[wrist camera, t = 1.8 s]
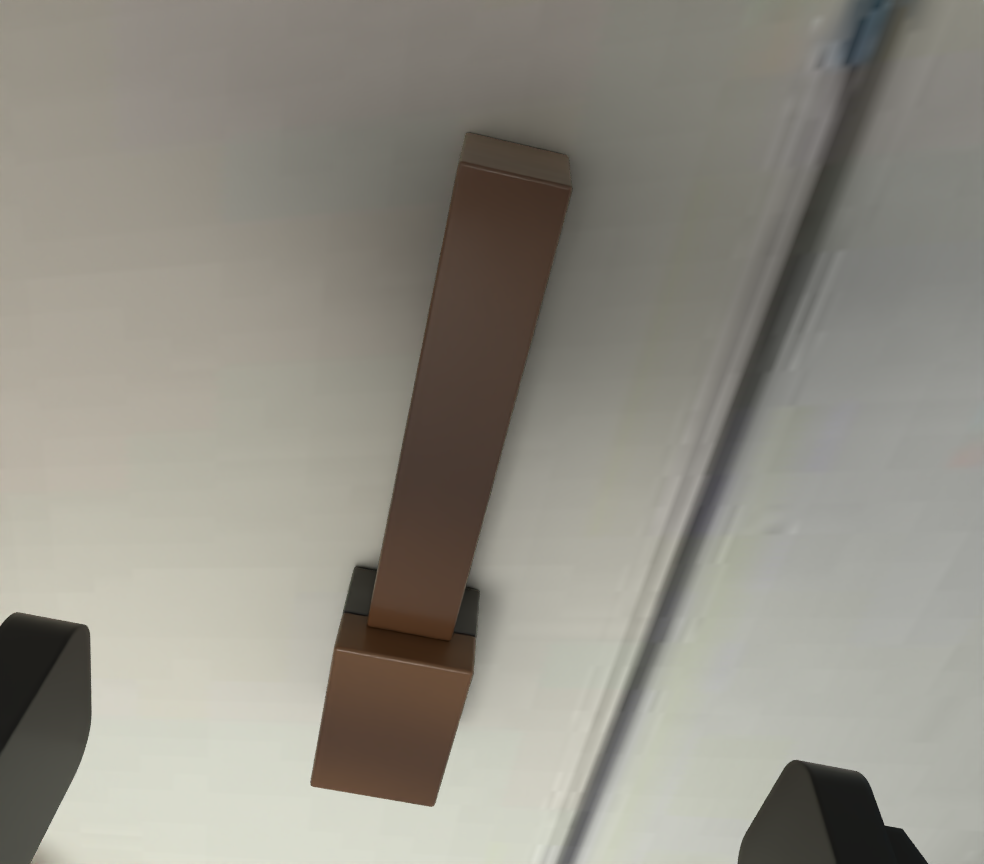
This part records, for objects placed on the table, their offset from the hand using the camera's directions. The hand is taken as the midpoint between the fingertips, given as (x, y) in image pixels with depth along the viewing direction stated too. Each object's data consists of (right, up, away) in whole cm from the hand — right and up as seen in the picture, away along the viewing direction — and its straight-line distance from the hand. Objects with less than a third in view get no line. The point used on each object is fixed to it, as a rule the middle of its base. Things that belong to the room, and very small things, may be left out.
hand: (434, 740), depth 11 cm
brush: (-1, +2, +11) cm, 11 cm away
